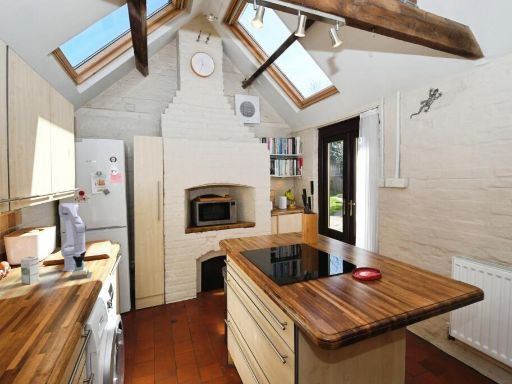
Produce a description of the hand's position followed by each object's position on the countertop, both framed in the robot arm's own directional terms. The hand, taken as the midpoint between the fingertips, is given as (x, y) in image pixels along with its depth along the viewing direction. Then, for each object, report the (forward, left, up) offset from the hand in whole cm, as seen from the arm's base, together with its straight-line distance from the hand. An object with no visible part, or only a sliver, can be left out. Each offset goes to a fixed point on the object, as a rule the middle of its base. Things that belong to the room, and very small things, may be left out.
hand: (80, 265), depth 158 cm
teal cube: (0, 0, -3) cm, 3 cm away
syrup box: (+14, -20, -8) cm, 26 cm away
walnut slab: (0, 0, -7) cm, 7 cm away
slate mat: (0, 0, -7) cm, 7 cm away
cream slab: (0, 0, -5) cm, 5 cm away
